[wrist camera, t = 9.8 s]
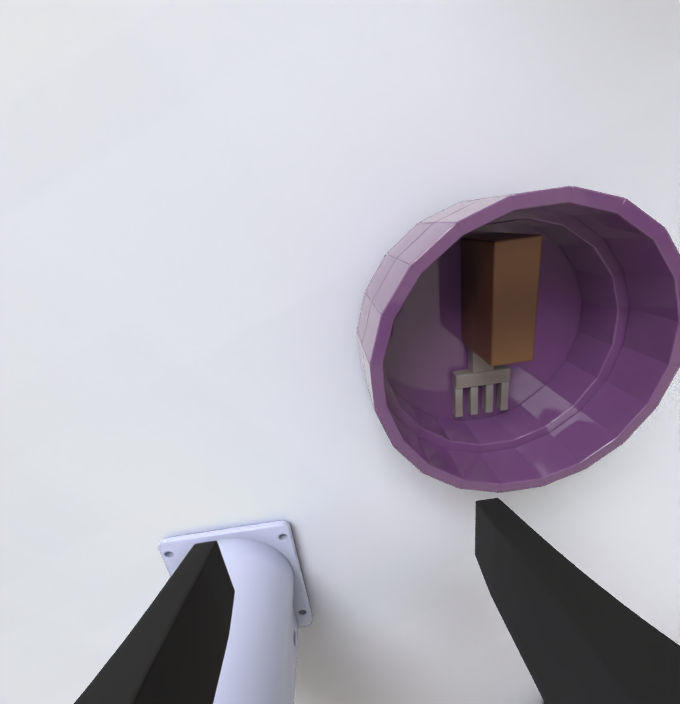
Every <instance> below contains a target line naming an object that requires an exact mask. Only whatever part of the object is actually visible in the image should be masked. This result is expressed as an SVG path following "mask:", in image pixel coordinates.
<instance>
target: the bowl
mask: <svg viewBox="0 0 680 704" xmlns="http://www.w3.org/2000/svg"><path fill="white" fill-rule="evenodd" d="M498 232H500V233H520V234H540V235H542V248H541V262H540V275H539V289H538V302H537V316H536V329H535V343H534V356H533V360H532V361H526V362H520V363H513V364H506V365H507V366H509V367H510V381H509V392H508V409H507V410H502V411H501V410H500V409H499V408H498V407H497V406H496V404H497V383H496V384H494V387H493V412H489V413H485V411H484V410H483V409H482V386H478V414H475V415H470V413H469V412H468V411H467V388H463V416H462V417H455V415H454V414H453V407H452V372H453V371H459V370H466V369H469V368H468V347H467V346H466V345H465V344H463V343H462V335H461V238H464V237H471V236H477V235H484V234H491V233H498ZM357 330H358V331H357V336H358V344H359V352H360V361H361V367H362V370H363V373H364V376H365V380H366V383H367V387H368V390H369V393H370V396H371V400H372V403H373V406H374V410H375V412H376V414H377V416H378V418H379V420H380V422H381V424H382V426H383V428H384V430H385V432H386V434H387V436H388V438H389V439H390V441H391V443H392V445H393V446H394V448H395V449H397V450H398V451H399V452H400V453H401V454H402V455H403V456H404V457H405V458H407V459H408V460H409V461H410V462H411V463H412V464H413V465H414V466H415V467H416V468H418V469H419V470H420V471H421V472H422V473H424V474H426V475H428V476H431V477H433V478H436V479H438V480H440V481H443V482H445V483H447V484H450V485H452V486H454V487H457V488H460V489H469V490H478V491H487V492H497V493H499V492H500V493H502V492H509V491H515V490H522V489H529V488H535V487H541V486H545V485H547V484H550V483H552V482H555V481H557V480H560V479H562V478H565V477H567V476H570V475H572V474H575V473H577V472H580V471H582V470H584V469H586V468H588V467H589V466H591V465H592V464H594V463H595V462H597V461H598V460H600V459H601V458H603V457H604V456H606V455H607V454H608V453H610V452H611V451H613V450H614V449H616V448H617V447H619V446H620V445H622V444H623V442H625V441H626V440H627V439H628V438H629V437H630V436H631V435H632V434H633V432H634V431H635V430H636V429H637V428H638V427H639V426H640V425H641V424H642V423H643V422H644V421H645V420H646V419H647V417H648V416H649V415H650V414H651V413H652V412H653V411H654V410H655V409H656V407H657V406H658V405H659V403H660V401H661V399H662V397H663V396H664V394H665V392H666V390H667V389H668V387H669V385H670V383H671V381H672V380H673V378H674V376H675V374H676V373H677V371H678V369H679V367H680V254H679V252H678V250H677V248H676V246H675V245H674V243H673V241H672V239H671V237H670V235H669V233H668V231H667V230H666V229H665V227H664V226H662V225H661V224H660V223H658V222H657V221H656V220H654V219H653V218H652V217H650V216H649V215H648V214H646V213H645V212H644V211H642V210H641V209H640V208H638V207H637V206H636V205H634V204H633V203H632V202H630V201H629V200H628V199H625V198H624V197H619V196H615V195H610V194H606V193H602V192H597V191H593V190H588V189H584V188H580V187H575V186H566V187H559V188H552V189H545V190H538V191H531V192H524V193H517V194H510V195H504V196H497V197H490V198H484V199H477V200H470V201H464V202H460V203H457V204H455V205H453V206H451V207H449V208H447V209H445V210H443V211H441V212H439V213H437V214H435V215H433V216H431V217H429V218H427V219H425V220H423V221H421V222H420V223H419V224H417V225H416V226H415V227H414V228H413V229H412V230H411V231H409V232H408V233H407V234H406V235H405V236H404V237H403V238H402V239H401V240H400V241H399V242H398V243H397V244H396V245H395V246H394V247H393V248H392V249H391V250H390V251H389V252H388V253H387V255H385V256H384V258H383V260H382V262H381V264H380V265H379V267H378V269H377V271H376V273H375V274H374V276H373V278H372V280H371V281H370V283H369V285H368V287H367V289H366V292H365V294H364V299H363V303H362V308H361V313H360V318H359V323H358V327H357Z"/></svg>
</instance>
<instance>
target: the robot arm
mask: <svg viewBox="0 0 680 704" xmlns="http://www.w3.org/2000/svg"><path fill="white" fill-rule="evenodd" d="M281 534H285V535H281ZM158 549H159V551H160V554H161V556H162V558H163V560H164V563H165V565H166V567H167V569H168V572H169V574H170V576H171V577H170V579H169V580H168V582H167V583H166V584H165V586H164V587H163V589H162V590H161V591H160V593H159V594H158V596H157V597H156V598H155V600H154V601H153V602H152V604H151V605H150V607H149V608H148V609H147V611H146V612H145V613H144V615H143V616H142V617H141V619H140V620H139V621H138V623H137V624H136V625H135V627H134V628H133V630H132V631H131V632H130V634H129V635H128V636H127V638H126V639H125V640H124V641H123V643H122V644H121V645H120V647H119V648H118V649H117V650H116V652H115V653H114V654H113V655H112V657H111V658H110V659H109V661H108V662H107V663H106V664H105V666H104V667H103V668H102V669H101V671H100V672H99V673H98V675H97V676H96V677H95V678H94V680H93V681H92V682H91V683H90V685H89V686H88V687H87V688H86V690H85V691H84V692H83V693H82V694H81V696H80V697H79V698H78V699H77V700H76V702H75V703H74V704H294V699H295V679H296V658H297V638H298V627H303V626H308V625H310V624H311V623H312V612H311V608H310V604H309V600H308V596H307V592H306V588H305V584H304V580H303V576H302V572H301V568H300V564H299V560H298V556H297V552H296V548H295V544H294V540H293V536H292V531H291V527H290V524H289V523H288V522H287V521H284V520H280V521H274V522H267V523H260V524H254V525H247V526H241V527H234V528H227V529H221V530H214V531H207V532H201V533H194V534H188V535H181V536H174V537H168V538H164V539H162V540H161V542H160V544H159V546H158ZM475 555H476V558H477V561H478V563H479V566H480V568H481V571H482V574H483V576H484V579H485V581H486V584H487V586H488V589H489V591H490V594H491V596H492V598H493V600H494V602H495V604H496V606H497V608H498V610H499V612H500V614H501V616H502V618H503V620H504V622H505V624H506V626H507V628H508V630H509V632H510V634H511V636H512V638H513V640H514V642H515V644H516V646H517V648H518V650H519V652H520V654H521V656H522V658H523V660H524V662H525V664H526V666H527V668H528V670H529V672H530V674H531V676H532V678H533V680H534V682H535V684H536V686H537V688H538V690H539V692H540V694H541V696H542V698H543V700H544V702H545V704H680V646H679V645H678V644H677V643H675V642H674V641H672V640H671V639H670V638H668V637H667V636H665V635H664V634H663V633H661V632H660V631H658V630H657V629H656V628H654V627H653V626H651V625H650V624H649V623H647V622H646V621H645V620H643V619H642V618H641V617H639V616H638V615H637V614H635V613H634V612H633V611H631V610H630V609H629V608H627V607H626V606H625V605H623V604H622V603H621V602H620V601H618V600H617V599H616V598H615V597H613V596H612V595H611V594H609V593H608V592H607V591H606V590H604V589H603V588H602V587H600V586H599V585H598V584H597V583H595V582H594V581H593V580H592V579H591V578H589V577H588V576H587V575H586V574H584V573H583V572H582V571H581V570H580V569H578V568H577V567H576V566H575V565H574V564H572V563H571V562H570V561H569V560H568V559H566V558H565V557H564V556H563V555H562V554H561V553H559V552H558V551H557V550H556V549H555V548H553V547H552V546H551V545H550V544H549V543H548V542H547V541H545V540H544V539H543V538H542V537H541V536H540V535H539V534H538V533H536V532H535V531H534V530H533V529H532V528H531V527H530V526H529V525H527V524H526V523H525V522H524V521H523V520H522V519H521V518H520V517H519V516H518V515H516V514H515V513H514V512H513V511H512V510H511V509H510V508H509V507H508V506H507V505H505V504H504V503H503V502H502V501H501V500H500V499H498V498H494V499H487V500H480V501H476V527H475Z"/></svg>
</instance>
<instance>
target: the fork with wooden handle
mask: <svg viewBox="0 0 680 704" xmlns="http://www.w3.org/2000/svg"><path fill="white" fill-rule="evenodd" d="M541 248H542V235H540V234H520V233H500V232H498V233H491V234H484V235H477V236H471V237H464V238H461V335H462V343H463V344H465V345H466V346H467V347H468V368H469V369H466V370H459V371H453V372H452V407H453V414H454V415H455V417H462V416H463V388H467V411H468V412H469V413H470V415H475V414H478V386H482V409H483V410H484V411H485V413H489V412H493V387H494V384H496V383H497V404H496V406H497V407H498V408H499V409H500V410H501V411H502V410H507V409H508V392H509V381H510V367H509V366H507V365H506V364H513V363H520V362H526V361H532V360H533V356H534V343H535V329H536V316H537V302H538V289H539V275H540V262H541Z"/></svg>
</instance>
